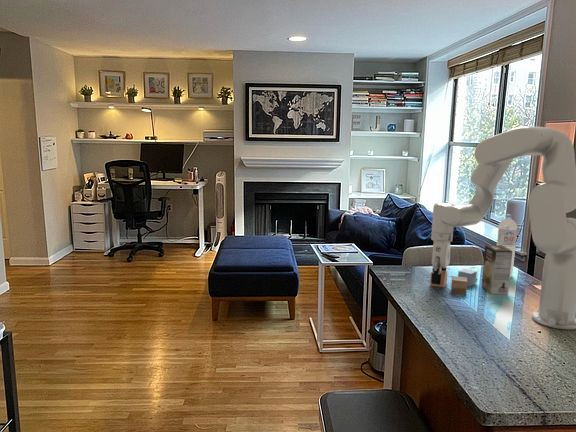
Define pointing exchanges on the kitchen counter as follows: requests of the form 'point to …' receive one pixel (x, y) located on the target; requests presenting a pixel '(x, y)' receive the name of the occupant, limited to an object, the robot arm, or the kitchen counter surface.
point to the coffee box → (496, 269)
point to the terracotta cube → (443, 279)
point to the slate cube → (468, 276)
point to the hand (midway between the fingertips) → (438, 280)
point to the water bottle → (507, 236)
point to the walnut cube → (459, 285)
